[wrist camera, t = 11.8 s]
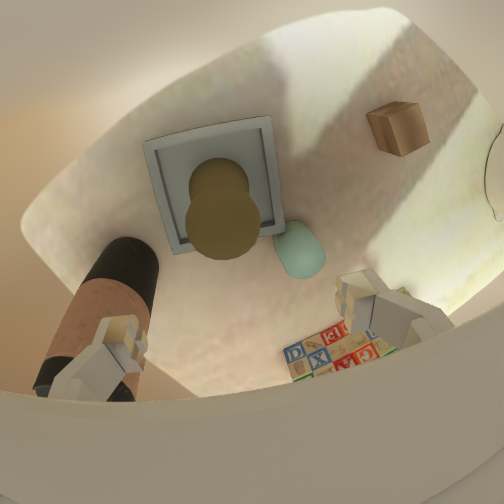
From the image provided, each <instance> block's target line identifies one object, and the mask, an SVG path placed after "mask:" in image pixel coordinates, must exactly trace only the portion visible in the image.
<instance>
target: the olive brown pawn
mask: <svg viewBox="0 0 504 504" xmlns="http://www.w3.org/2000/svg"><path fill="white" fill-rule="evenodd" d="M189 195H190V199H191V203H190V205H189V208H188V211H187V214H186V217H185V230H186V233H187V236H188V239H189V241H190V243H191V244H192V245H193V247H194V248H195V249H196V250H197V251H198V252H200V253H201V254H203V255H204V256H206V257H209V258H212V259H215V260H229V259H233V258H237V257H239V256H241V255H242V254H244V253H246V252H247V251H248V250H249V249H250V248H251V247H252V246H253V245H254V244H255V242H256V240H257V238H258V236H259V232H260V225H261V218H260V213H259V209H258V207H257V206H256V204H255V203H254V201H253V199H252V198H251V197H250V196H249V182H248V177H247V174H246V173H245V171H244V170H243V168H242V167H241V166H240V165H239V164H237V163H236V162H235V161H232V160H230V159H227V158H213V159H209V160H206V161H204V162H203V163H201V164H200V165H198V166H197V168H196V169H195V170H194V171H193V173H192V175H191V177H190V180H189Z"/></svg>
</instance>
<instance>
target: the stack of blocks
mask: <svg viewBox="0 0 504 504" xmlns="http://www.w3.org/2000/svg"><path fill="white" fill-rule="evenodd" d="M397 291H398V292H401V293H403V294H406V295H408V296H411V295H410V294H409V293H408V292H407V291H406V290H405V289H404V288H403V287H402V288H400V289H399V290H397ZM411 297H412V296H411ZM397 351H399V349H397V348H396V347H394V346H393V345H391V344H390V343H388V342H386V341H385V340H383V339H382V338H380V337H379V336H377V335H376V334H374V333H373V332H371V331H370V330H366V331H362V332H359V333H355V334H351V335H350V333H349V331H348V329H347V328H346V326H345V324H344V321H342V322H340V323H338V324H337V325H334V326H332V327H330V328H328V329H326V330H324V331H322V332H321V333H318V334H316V335H314V336H312V337H310V338H308V339H305V340H303V341H302V342H299V343H297V344H295V345H293V346H290V347H288V348H286V349H284V353H285V357H286V360H287V364H288V368H289V371H290V374H291V378H292V380H293V382H297V381H301V380H305V379H309V378H313V377H317V376H321V375H325V374H328V373H332V372H336V371H339V370H343V369H346V368H349V367H353V366H356V365H359V364H362V363H365V362H368V361H371V360H374V359H377V358H380V357H383V356H386V355H389V354H391V353H394V352H397Z"/></svg>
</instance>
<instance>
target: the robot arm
mask: <svg viewBox="0 0 504 504" xmlns="http://www.w3.org/2000/svg"><path fill="white" fill-rule="evenodd" d="M485 185H486V194H487V199H488V201H489V203H490V205H491V206H492V208H493V210H494V214H495V219H496V220H497V221H499V222H501V221H503V220H504V124H503V127H502V131H501V133H500V134H499V136H498V137H497V138H496V140H495V141H494V143H493V145H492V148H491V151H490V154H489V157H488V162H487V167H486V178H485ZM336 286H337V288H338V291H337V292H336V294H335V301H336V307H337V310H338V312H339V314H340V316H342V317H344V318H345V320H344V324H345V326H346V328H347V329H348V331H349V333H350V335H351V334H355V333H359V332H362V331H366V330H370V331H371V332H373V333H374V334H376V335H377V336H379V337H380V338H382V339H383V340H385V341H386V342H388V343H390V344H391V345H393V346H394V347H396V348H397V349H399V351H397V352H394V353H391V354H389V355H386V356H383V357H380V358H377V359H374V360H371V361H368V362H365V363H362V364H359V365H356V366H353V367H349V368H346V369H343V370H339V371H336V372H332V373H328V374H325V375H321V376H317V377H313V378H309V379H305V380H301V381H297V382H292V383H288V384H283V385H278V386H273V387H268V388H263V389H257V390H252V391H246V392H239V393H233V394H226V395H218V396H210V397H201V398H191V399H180V400H166V401H144V402H106V401H107V399H108V398H109V397H110V395H111V394H112V392H113V391H114V390H115V388H116V387H117V385H118V384H119V383H120V381H121V380H122V379H123V377H124V376H125V374H126V373H132V372H142V371H143V370H144V364H145V357H144V356H143V355H144V353H145V352H146V351H147V348H148V341H147V336H146V333H145V331H144V329H142V328H141V327H139V326H138V324H139V320H138V318H137V317H136V315H134V314H131V315H122V316H113V317H106V318H103V319H101V321H100V324H99V326H98V329H97V331H96V334H95V337H94V339H93V342H92V345H88V346H87V347H86V348H85V349H84V350H83V351H82V352H81V353H80V354H79V355H77V356H76V357H75V358H74V359H73V360H72V361H71V362H70V363H69V364H68V365H67V366H66V367H65V368H64V369H63V370H62V371H61V372H60V373H59V374H58V375H56V376H55V378H54V381H53V383H52V386H51V389H50V392H49V395H48V398H45V397H37V396H29V395H23V394H16V393H11V392H6V391H1V390H0V504H504V301H502V302H501V303H499V304H497V305H496V306H494V307H492V308H490V309H489V310H487V311H485V312H483V313H481V314H480V315H477V316H476V317H474V318H472V319H470V320H468V321H466V322H464V323H462V324H460V325H458V326H456V327H455V326H454V325H453V323H452V322H451V321H450V320H449V319H448V317H447V316H446V315H445V314H444V312H443V311H442V310H441V309H440V308H437V307H435V306H433V305H430V304H428V303H425V302H423V301H420V300H418V299H415V298H413V297H411V296H408V295H406V294H403V293H401V292H398V291H396V290H390V289H389V288H388V287H387V285H386V284H385V283H384V282H383V281H382V279H381V278H380V277H379V276H378V274H377V273H376V272H375V271H374V270H373V269H372V268H368V269H364V270H361V271H358V272H354V273H350V274H346V275H341V276H337V278H336Z"/></svg>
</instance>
